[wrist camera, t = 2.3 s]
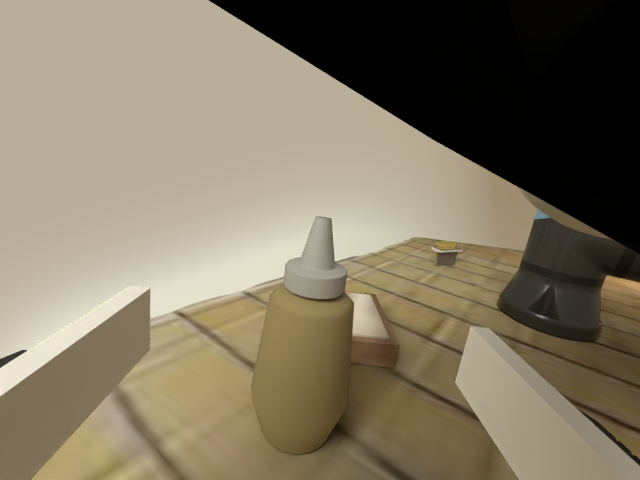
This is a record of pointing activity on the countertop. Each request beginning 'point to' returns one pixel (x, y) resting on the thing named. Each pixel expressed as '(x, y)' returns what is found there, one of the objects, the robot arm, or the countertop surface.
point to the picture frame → (371, 333)
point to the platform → (445, 253)
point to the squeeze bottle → (305, 349)
